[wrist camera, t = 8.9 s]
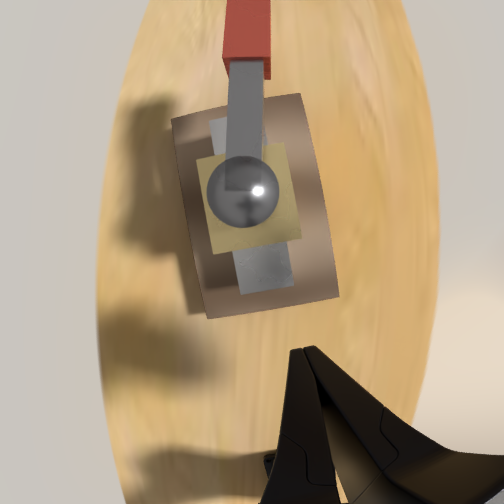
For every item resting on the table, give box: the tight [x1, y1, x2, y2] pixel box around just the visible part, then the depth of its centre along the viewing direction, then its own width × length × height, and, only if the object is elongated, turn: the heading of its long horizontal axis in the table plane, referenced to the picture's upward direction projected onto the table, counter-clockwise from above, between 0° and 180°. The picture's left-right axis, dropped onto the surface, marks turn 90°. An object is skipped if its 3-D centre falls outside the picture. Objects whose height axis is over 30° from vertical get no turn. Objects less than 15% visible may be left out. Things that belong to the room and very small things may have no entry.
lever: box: [206, 0, 279, 228], centre depth 12 cm, size 11×3×2 cm, turn 179°
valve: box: [196, 117, 302, 295], centre depth 16 cm, size 10×4×6 cm, turn 11°
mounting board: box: [171, 93, 339, 319], centre depth 20 cm, size 14×9×2 cm, turn 11°
